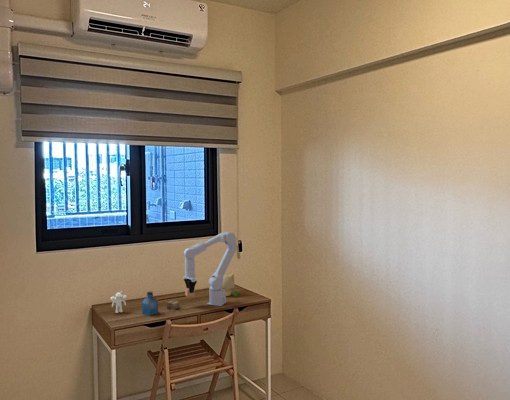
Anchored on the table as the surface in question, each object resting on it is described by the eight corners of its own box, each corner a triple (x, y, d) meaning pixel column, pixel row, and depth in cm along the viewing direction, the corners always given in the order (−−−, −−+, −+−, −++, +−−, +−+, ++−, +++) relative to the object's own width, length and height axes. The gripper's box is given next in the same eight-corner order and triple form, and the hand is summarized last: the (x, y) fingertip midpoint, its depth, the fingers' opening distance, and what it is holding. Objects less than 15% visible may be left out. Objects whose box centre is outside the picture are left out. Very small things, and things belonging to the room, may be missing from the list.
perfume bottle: (151, 311, 267) (150, 290, 267) (158, 313, 263) (157, 291, 263) (142, 313, 262) (141, 292, 262) (149, 315, 259) (148, 294, 258)
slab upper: (178, 304, 274) (178, 301, 274) (174, 307, 269) (174, 303, 269) (171, 303, 276) (171, 300, 276) (166, 306, 271) (166, 302, 271)
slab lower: (178, 308, 274) (178, 304, 274) (174, 310, 269) (174, 307, 269) (171, 307, 276) (171, 303, 276) (166, 309, 271) (166, 306, 271)
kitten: (239, 294, 304) (239, 271, 303) (237, 298, 294) (236, 274, 293) (217, 293, 306) (217, 270, 305) (213, 297, 296) (213, 273, 295)
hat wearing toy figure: (126, 310, 269) (125, 289, 269) (127, 311, 266) (127, 290, 265) (110, 312, 265) (109, 291, 264) (111, 314, 262) (111, 292, 261)
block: (192, 294, 279) (192, 287, 279) (194, 296, 275) (194, 289, 275) (185, 295, 277) (185, 288, 277) (187, 296, 273) (187, 290, 273)
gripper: (179, 267, 280) (180, 289, 281) (186, 271, 267) (187, 295, 268) (191, 266, 283) (191, 288, 284) (198, 270, 270) (199, 293, 271)
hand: (190, 291), depth 276 cm, fingers closed on block, 4 cm apart
